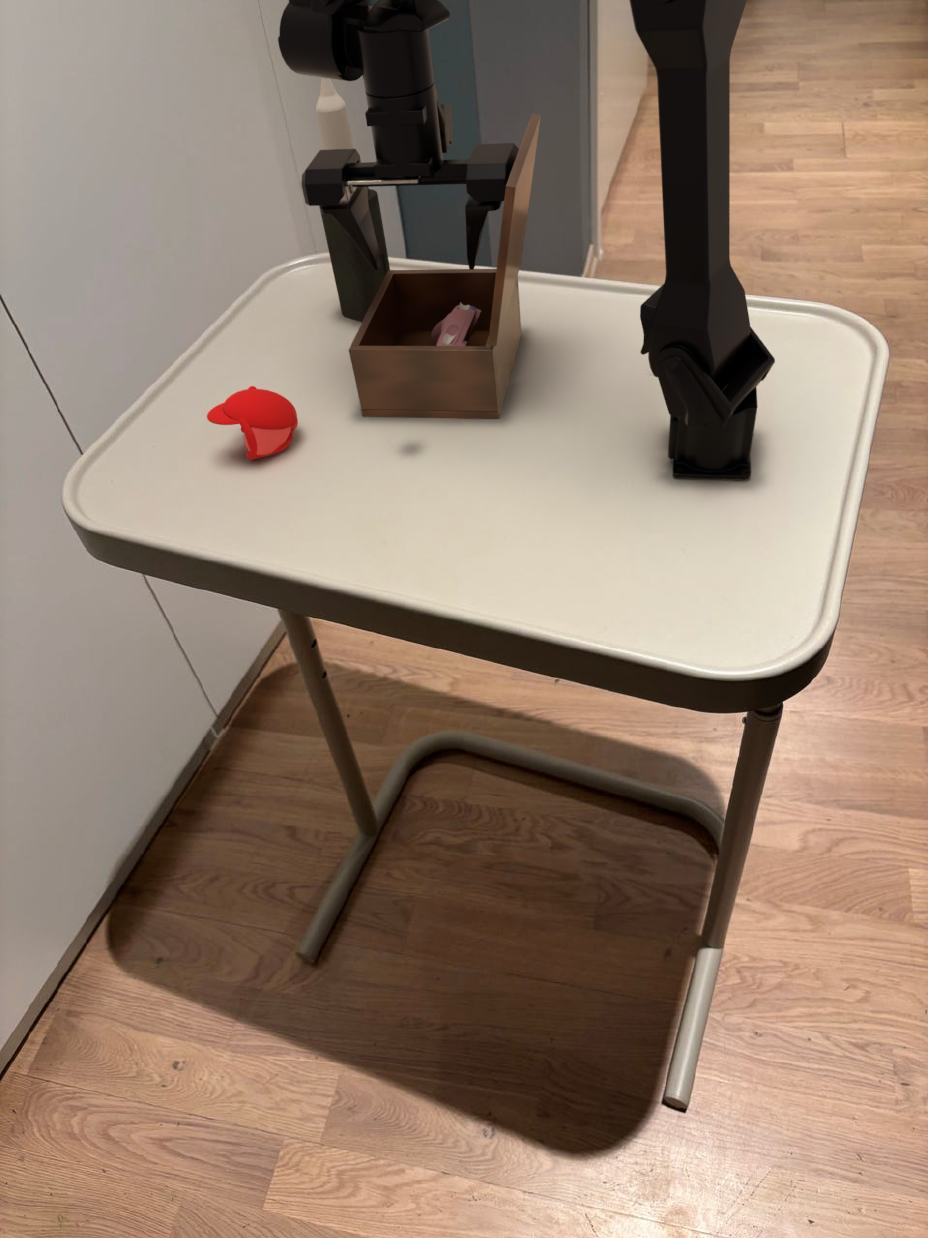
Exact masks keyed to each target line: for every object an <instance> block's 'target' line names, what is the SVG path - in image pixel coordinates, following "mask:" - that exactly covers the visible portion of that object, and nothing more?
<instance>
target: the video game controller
mask: <svg viewBox="0 0 928 1238" xmlns="http://www.w3.org/2000/svg"><path fill="white" fill-rule="evenodd" d="M480 312H481V310H479V309H477V308H475V307H473V306H470V305H463V304H462V303H461V302H460V305H457V306H456V307H455V308H454V309H453V310H452V312H451V313H450V314H448V315H447V317H446V318H445V319H443V320H442V321H441V322H439V323H438V324H437V325H436V326H435V327H434V329H433V331H432V333H431V338H432V341H433V342H434V343H435V344H436V346H466V345H467V342H468V340H469V339H470V337H471V335H472V334H473V333H474V331H475V329H476V327H477V324H478V318H479V315H480Z"/></svg>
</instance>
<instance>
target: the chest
mask: <svg viewBox="0 0 928 1238" xmlns="http://www.w3.org/2000/svg"><path fill="white" fill-rule="evenodd" d="M496 269H497V268H474V269H473V270H470V269H469V268H453V269H452V268H450V269H449V268H448V269H447V268H446V269H390V270H388V271H387V273H386V275H385V277H384V279H383V281H382V283H381V285H380V287H379V289H378V291H377V293H376V295H375V297H374V299H373V301H372V303H371V305H370V307H369V309H368V311H367V313H366V315H365V318H364V320H363V322H361V324H360V326H359V328H358V330H357V331H356V334H355V336H354V338H353V340H352V342H351V344H350V346H349V348H348V354H349V359H350V364H351V367H352V373H353V377H354V382H355V388H356V391H357V395H358V396H357V397H358V400H359V401H358V402H359V405H360V409H361V415H362V417H385V418H387V417H390V418H392V417H393V418H394V417H395V418H440V419H441V418H444V419H445V418H447V419H493V420H495V419H500V415H501V411H502V408H503V404H504V400H505V396H506V393H507V389H508V385H509V381H510V378H511V374H512V370H513V367H514V363H515V359H516V356H517V352H518V348H519V346H520V345H519V344H520V340H521V337H522V333H523V332H522V321H521V306H520V305H521V303H520V289H519V275H518V276H517V279H516V283H515V286H514V289H513V293H512V296H511V299H510V303H509V306H508V309H507V313H506V316H505V319H504V323H503V326H502V330H501V333H500V336H499V340H498V343H497V346H492V345H488V340H489V331H490V322H491V313H492V304H493V295H494V286H495V278H496ZM460 302H461V303H462V304H463V305H470V306H473V307H475V308H477V309H479V310H481V312H480V315H479V318H478V324H477V327H476V329H475V331H474V333H473V334H472V335H471V337H470V339H469V340H468V342H467V345H466V346H436V344H435V343H434V342H433V341H432V338H431V333H432V331H433V329H434V327H435V326H436V325H437V324H438V323H439V322H441V321H442V320H443V319H445V318H446V317H447V315H448V314H450V313H451V312H452V310H453V309H454V308H455V307H456V306H457V305H460Z"/></svg>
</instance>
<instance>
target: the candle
mask: <svg viewBox="0 0 928 1238" xmlns="http://www.w3.org/2000/svg"><path fill="white" fill-rule="evenodd" d="M320 78H321V79H320V90H319V91H320V92H319V97H318V100H317V102H316V105H315V111H316V116H317V117H316V118H317V121H318V126H319V131H320V137H321V142H322V147H323V150H332V149H354V144H353V138H352V133H351V127H350V122H349V116H348V115H349V114H348V111H347V105H346V102H345V100H344V99H343V98H342V96H341V95H339V93H338V92H337V90H336V88H335V85H334V84H333V82H332V79H329V78H322V77H320ZM367 188H368V206H369V211H370V215H371V219H372V223H373V228H374V232H375V236H376V240H377V244H378V249H379V256H380V268H379V270H378V271H375V270H373V268H372V267H371V265H370V264H369V262H368V261H367V259H366V258H365V257H364V255H363V254H362V252H361V251H360V249H359V248H358V247H357V245H356V244H355V242H354V241H353V240H352V238H351V237H350V236H349V235H348V233H347V232H346V231H345V230H344V229H343V228H342V227H341V225H340V224H339V223H338V222H337V221H336V220H335V219H334V217H333V216H332V215H329V214H323V213H322V211H321V206H318V207H319V211H320V217H321V222H322V225H323V231H324V235H325V240H326V244H327V250H328V254H329V258H330V263H331V268H332V274H333V277H334V278H333V279H334V283H335V287H336V291H337V292H336V293H337V296H338V297H337V298H338V301H339V306H340V311H341V315H342V317H344V318H347V319H351V320H354V321H357V322H361V323H362V322H363V320H364V318H365V315H366V313H367V311H368V309H369V307H370V305H371V303H372V301H373V299H374V297H375V295H376V293H377V291H378V289H379V287H380V285H381V283H382V281H383V279H384V277H385V275H386V273H387V271H388V270H391V267H390V259H389V255H388V254H389V253H388V247H387V243H386V236H385V231H384V224H383V219H382V213H381V207H380V200H379V194H378V192H377V190H375V189H371V188H369V187H367Z"/></svg>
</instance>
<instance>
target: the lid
mask: <svg viewBox="0 0 928 1238" xmlns="http://www.w3.org/2000/svg"><path fill="white" fill-rule="evenodd" d="M541 118H542V117H541V114H539V113H531V115H530V118H529V121H528V124H527V127H526V129H525V132H524V135H523V138H522V141H521V143H520V146H519V147H518V149H519V151H518V154H517V157H516V159H515V162H514V165H513V168H512V171H511V173H510V176H509V179H508V182H507V184H506V189H505V198H504V201H503V207H502V217H501V224H500V225H501V226H500V235H499V243H498V251H497V252H498V253H497V261H496V268H495V269H496V278H495V286H494V295H493V304H492V313H491V322H490V331H489V340H488V345H492V346H497V343H498V340H499V336H500V333H501V330H502V326H503V323H504V319H505V316H506V313H507V309H508V306H509V303H510V299H511V296H512V293H513V289H514V286H515V283H516V279H517V276H518V277H519V272H520V269H521V266H522V261H523V260H522V259H523V252H524V246H525V245H524V243H525V238H526V237H525V236H526V229H527V221H528V215H529V209H530V208H529V207H530V199H531V193H532V185H533V177H534V169H535V163H536V154H537V147H538V139H539V132H540V125H541Z"/></svg>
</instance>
